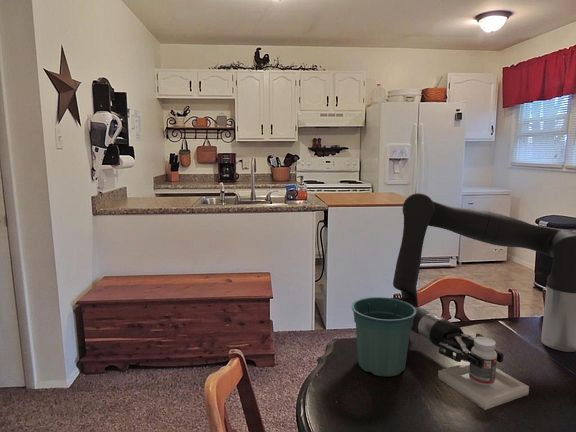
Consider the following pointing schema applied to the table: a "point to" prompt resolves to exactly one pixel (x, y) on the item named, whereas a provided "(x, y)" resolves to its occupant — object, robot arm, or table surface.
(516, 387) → the tray
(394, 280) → the robot arm
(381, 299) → the flower pot
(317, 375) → the table surface
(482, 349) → the pill bottle
